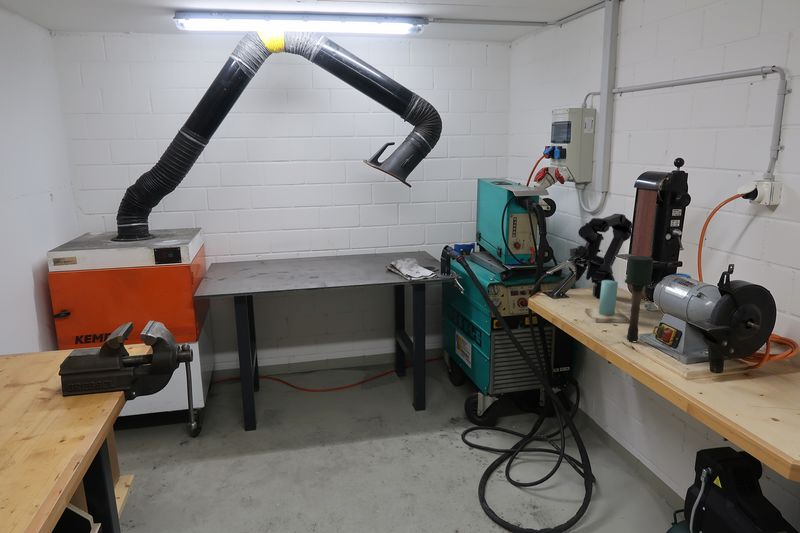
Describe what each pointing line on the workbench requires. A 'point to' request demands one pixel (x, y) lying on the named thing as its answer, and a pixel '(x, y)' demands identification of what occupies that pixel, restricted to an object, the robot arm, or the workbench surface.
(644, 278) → the stick grenade
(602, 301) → the canister
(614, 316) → the board
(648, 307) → the pneumatic valve
